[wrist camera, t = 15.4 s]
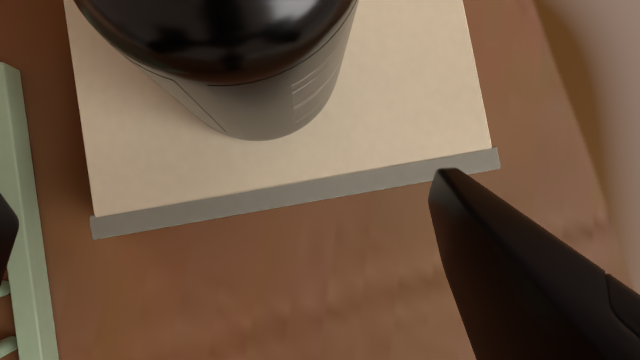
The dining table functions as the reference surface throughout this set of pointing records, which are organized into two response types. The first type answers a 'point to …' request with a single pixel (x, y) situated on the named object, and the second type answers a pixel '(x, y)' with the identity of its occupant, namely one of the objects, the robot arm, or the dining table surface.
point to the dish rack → (23, 231)
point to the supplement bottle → (234, 56)
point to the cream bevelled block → (292, 150)
